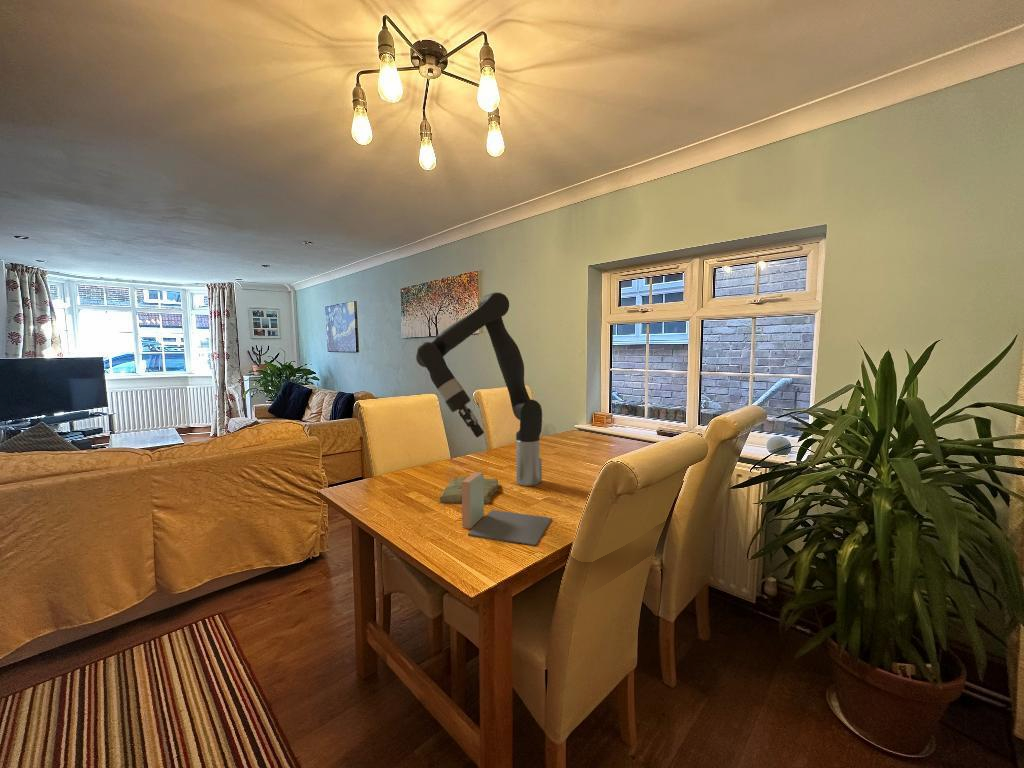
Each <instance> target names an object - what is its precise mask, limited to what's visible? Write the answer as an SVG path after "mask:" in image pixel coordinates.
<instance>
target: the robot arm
mask: <svg viewBox="0 0 1024 768" xmlns="http://www.w3.org/2000/svg"><path fill="white" fill-rule="evenodd" d="M477 306H478V307H477V309H475V310H474V311H472V312H471V313H469V314H468V315H466V316H463V318H460V319H459V320H457V321H455V322H453V323H452V324H450V325H448V327H446V328H445V329H443V330H442V331H440V332H439V333H438V334H437V335H436V337H435V338H434V339H433V340H432V341H424V342H422V343H421V344H420V345H419V346H418V348H417V351H416V355H415V360H416V363H417V364H418V365H419V366H420V367H422V368H425V369H427V371H428V372H429V373H428V374H429V377H430V381H431V382H432V383H433V384H434V386H435V388H436V389H437V391H438V392H439V395H440V396H441V398H442V399H443V401H444V403H445V404H446V406H447V407H448V409H449V410H450V411H451V413H455V412H457V411H458V415H459V416H460V419H462V420H463V422H464V424H465V425H466V426H467V427H468V428H469V429H470V430H471V431H472V433H473V435H474V436H475V437H476V438H479V437H481V436H482V435H484V433H485V432H484V430H483V428H482V427H481V425H480V424H479V420H478V419H477V417H476V415H475V414H474V412H473V410H472V408H470V407H467V404H469V403H470V402H471V398H470V397H469V395H468V394H467V392H466V391H465V390H464V388H463V386H462V385H461V383H460V382H459V381H458V380H457V378H456V377H455V375H454V374H453V373H452V371H451V370H450V369H449V366H448V365H447V363H446V359H445V358H444V357H445V356H446V355H447V354H448V353H449V352H450V351H452V350H454V349H455V348H457V346H459V345H460V344H462V343H463V342H464V341H466V339H469V337H471V336H472V335H474V334H475V333H476V332H478V331H479V330H480V329H481V328H482V329H483V328H484V327H485V328H486V331H487V333H488V335H489V338H490V341H491V344H492V347H493V351H494V353H495V356H496V361H497V364H498V366H499V368H500V371H501V375H502V378H503V380H504V383H505V386H506V388H507V392H508V395H509V399H510V403H511V404H510V405H511V408H512V412H513V415H514V416H515V418H516V419H517V420H519V421H520V422H519V430H517V432H516V433H515V439H516V440H515V455H516V456H515V458H516V459H515V460H516V461H515V462H516V463H515V464H516V465H515V466H516V467H515V468H516V470H515V471H516V474H515V475H516V477H515V479H516V483H517V484H518V485H521V486H529V487H530V486H537V485H538V484H540V483H542V482H543V475H542V474H543V467H542V466H543V465H542V463H543V459H542V458H541V457H540V455H541V454H540V453H541V452H540V450H541V449H540V445H541V444H540V439H541V437H540V436H541V433H542V429H543V427H542V426H543V409H542V405H541V404H540V403H539V401H537V400H534V399H531V398H530V396H529V393H528V390H527V388H526V385H525V364H524V363H525V362H524V360H523V357H522V354H521V351H520V348H519V347H518V345H517V342H516V341H515V340H514V338H513V337H512V336H511V335H510V333H509V332H508V331H507V329H506V326H505V324H504V319H503V317H504V316H505V315H506V314H507V313H508V311H509V309H510V301H509V298H508V297H507V295H505V294H504V293H502V292H499V291H498V292H492V293H489V294H486V295H484V296H482V297H481V298H480V299H479V300H478V305H477Z"/></svg>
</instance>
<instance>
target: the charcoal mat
mask: <svg viewBox="0 0 1024 768" xmlns="http://www.w3.org/2000/svg"><path fill="white" fill-rule="evenodd" d="M552 520H553V517H548V516H540V515H532V514H526V513H525V514H524V513H519V512H510V511H509V512H508V511H503V510H497V509H496V510H495V509H491V510H490V511H489V512H488V513H487V514H486V515H484V516H483V517H482V518H481V519H480V520H479V521H478V522H477V523H476V524H475V525H474V526H473V527H472V528H471V529H470V531H468V533H467V536H470V537H476V538H483V539H488V540H495V541H500V542H508V543H512V542H513V543H514V544H518V543H521V544H520V545H525V544H528V545H527V546H531V545H534V546H533V547H537V545H538V544H539V542H540V540H541V538H542V536H543V535H544V534H545V532H546V530H547V528H548V527H549V525H550V523H551V522H552ZM538 541H539V542H538ZM513 543H512V544H513Z"/></svg>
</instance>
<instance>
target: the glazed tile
mask: <svg viewBox="0 0 1024 768" xmlns="http://www.w3.org/2000/svg"><path fill="white" fill-rule="evenodd" d="M484 479H485V478H484V473H483V472H481V471H475V472H473V473H472V474H470V475H469V476H467V477H466V479H465V480H463V481H462V503H461V512H462V513H461V519H462V521H461V522H462V526H461V527H462V528H463V529H470V530H471V529H473V528H474V527H475V526H476V525H477V524H478V523H479V522H480V521H481V520H482V519H483V518H484V517H485V503H484Z"/></svg>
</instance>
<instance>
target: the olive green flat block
mask: <svg viewBox="0 0 1024 768" xmlns="http://www.w3.org/2000/svg"><path fill="white" fill-rule="evenodd" d="M466 478H467V477H466V476H465V477H454V478H452V480H450V482H449V483H448V485H446V487H445V488H444V490H443V491H442V493H441V495H440V496H439V503H445V504H446V503H449V502H452V504H462V481H463V480H465V479H466ZM498 485H499V480H498V478H484V504H489V503H490V501H491V498H492V497H493V496H494V495H495V494H496V493H497V492H496V491H498V489H499V486H500V485H499V486H498ZM495 492H496V493H495ZM494 493H495V494H494ZM492 495H493V496H492ZM491 496H492V497H491ZM490 497H491V498H490Z"/></svg>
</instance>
